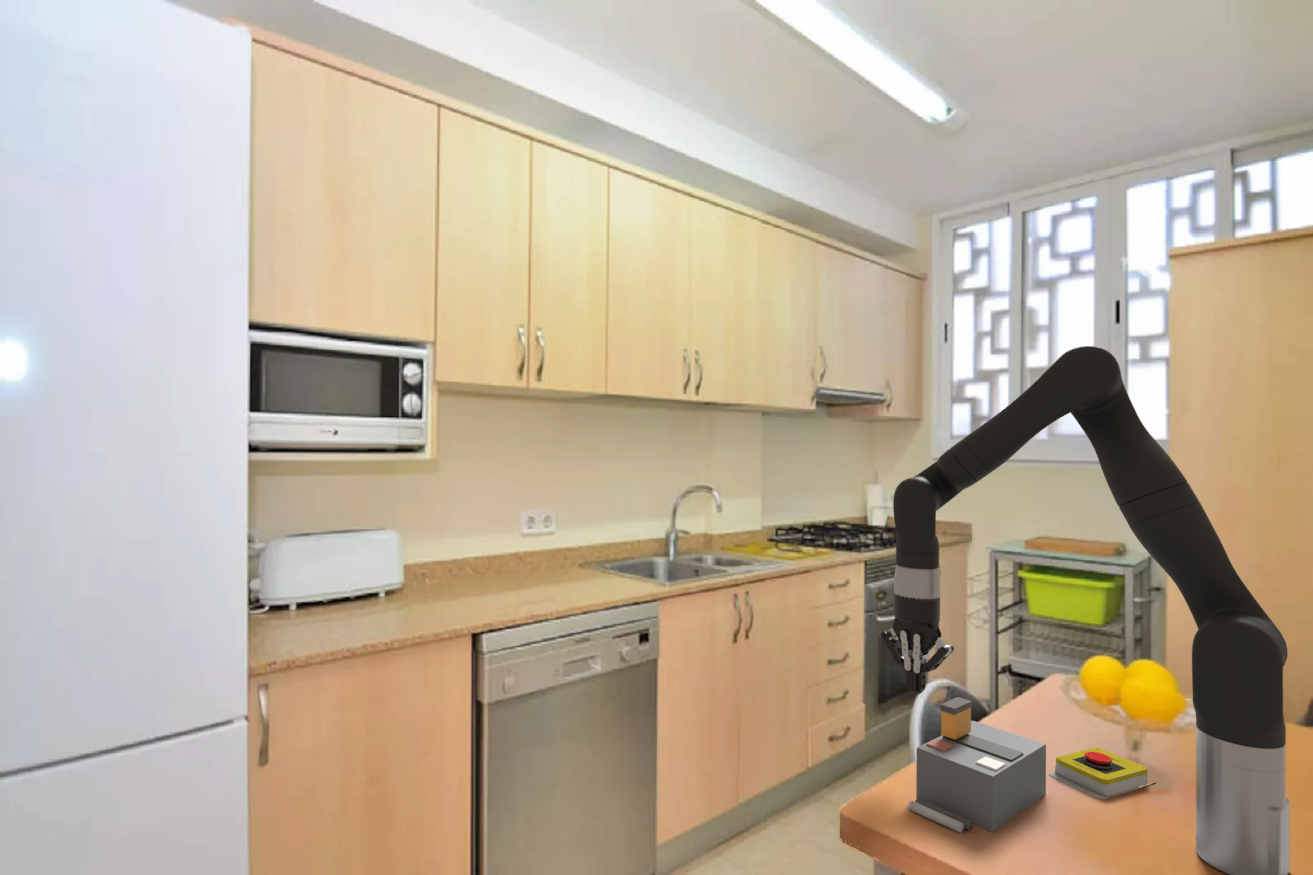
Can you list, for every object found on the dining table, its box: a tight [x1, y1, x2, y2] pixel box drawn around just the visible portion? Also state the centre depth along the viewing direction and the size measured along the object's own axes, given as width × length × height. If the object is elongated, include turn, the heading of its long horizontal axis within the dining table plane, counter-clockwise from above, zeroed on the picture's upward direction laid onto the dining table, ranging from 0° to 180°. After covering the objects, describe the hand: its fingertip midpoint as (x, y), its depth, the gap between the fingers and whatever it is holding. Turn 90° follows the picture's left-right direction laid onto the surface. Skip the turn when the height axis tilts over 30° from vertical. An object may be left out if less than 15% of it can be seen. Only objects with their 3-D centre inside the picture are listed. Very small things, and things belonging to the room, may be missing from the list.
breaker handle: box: [940, 696, 973, 740], centre depth 113 cm, size 2×6×5 cm, turn 129°
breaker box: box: [915, 720, 1047, 833], centre depth 110 cm, size 12×18×8 cm, turn 129°
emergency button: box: [1049, 747, 1149, 800], centre depth 116 cm, size 9×4×15 cm
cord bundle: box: [907, 799, 974, 834], centre depth 102 cm, size 9×3×1 cm, turn 39°
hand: (915, 692), depth 119 cm, fingers closed
